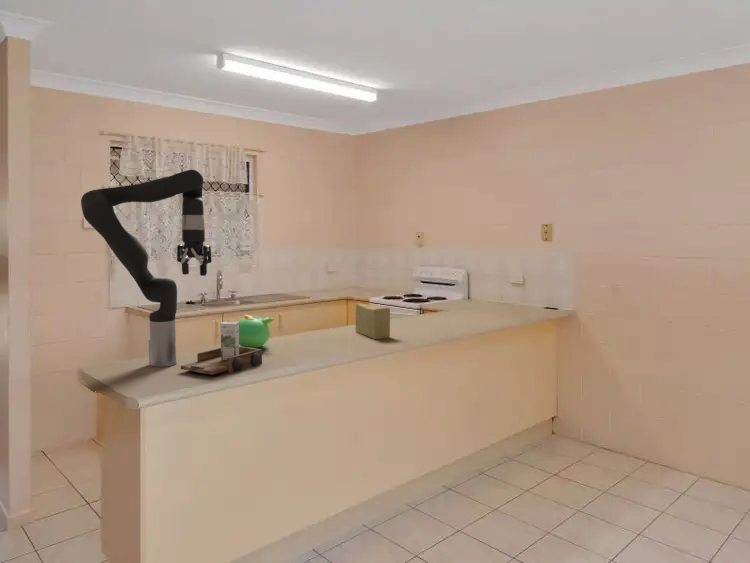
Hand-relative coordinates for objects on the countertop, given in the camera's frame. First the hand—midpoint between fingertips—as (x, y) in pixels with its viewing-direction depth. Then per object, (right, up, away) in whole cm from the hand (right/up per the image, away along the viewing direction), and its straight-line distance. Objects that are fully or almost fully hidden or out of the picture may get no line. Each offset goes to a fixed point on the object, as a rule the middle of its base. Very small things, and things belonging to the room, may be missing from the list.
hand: (194, 275), depth 201 cm
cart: (+8, -35, +19) cm, 40 cm away
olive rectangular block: (+60, -29, +84) cm, 108 cm away
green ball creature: (+9, -32, +53) cm, 62 cm away
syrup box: (+8, -32, +19) cm, 38 cm away
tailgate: (+1, -34, +8) cm, 35 cm away
